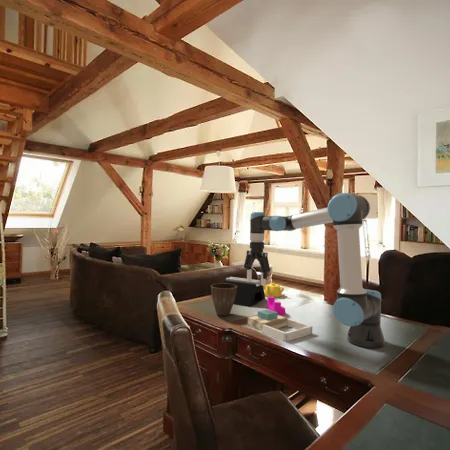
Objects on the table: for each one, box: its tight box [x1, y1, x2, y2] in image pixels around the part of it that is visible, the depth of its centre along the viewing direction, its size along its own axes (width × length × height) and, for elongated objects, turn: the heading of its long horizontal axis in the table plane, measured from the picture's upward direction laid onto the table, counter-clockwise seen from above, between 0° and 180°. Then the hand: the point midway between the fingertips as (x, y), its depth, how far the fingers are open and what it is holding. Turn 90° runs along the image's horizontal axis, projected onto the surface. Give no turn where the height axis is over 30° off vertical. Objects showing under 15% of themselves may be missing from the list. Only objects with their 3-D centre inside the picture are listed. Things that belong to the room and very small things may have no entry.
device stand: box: [223, 276, 266, 308], centre depth 214 cm, size 22×22×15 cm
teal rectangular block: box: [257, 308, 278, 321], centre depth 164 cm, size 7×7×3 cm
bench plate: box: [247, 314, 288, 332], centre depth 164 cm, size 12×16×4 cm
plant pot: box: [210, 282, 237, 317], centre depth 184 cm, size 15×15×16 cm
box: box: [261, 318, 313, 343], centre depth 154 cm, size 15×18×4 cm
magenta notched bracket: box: [266, 297, 286, 316], centre depth 189 cm, size 15×6×8 cm, turn 8°
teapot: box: [263, 282, 285, 299], centre depth 225 cm, size 14×13×10 cm
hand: (256, 283), depth 171 cm, fingers open, 10 cm apart
